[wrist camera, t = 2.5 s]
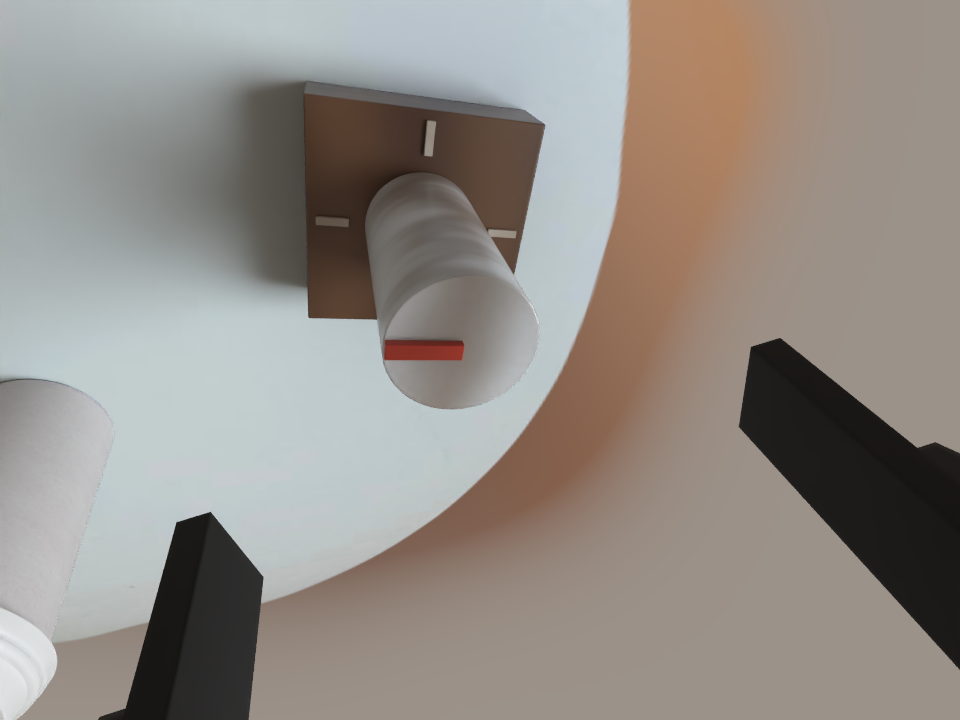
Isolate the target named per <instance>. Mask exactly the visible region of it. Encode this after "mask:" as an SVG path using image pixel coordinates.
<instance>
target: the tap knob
mask: <svg viewBox="0 0 960 720" xmlns="http://www.w3.org/2000/svg"><path fill="white" fill-rule="evenodd" d="M365 233H366V241H367V248H368V255H369V263H370V270H371V277H372V285H373V292H374V299H375V306H376V314H377V321H378V328H379V336H380V343H381V350H382V357H383V363H384V366H385V369H386V372H387V374H388V376H389V378H390V379H391V381H392V382H393V383H394V385H395V386H396V387H397V388H398V389H399V390H400V391H401V392H402V393H403V394H405V395H406V396H407V397H409V398H410V399H412V400H414V401H416V402H418V403H421V404H423V405H426V406H430V407H434V408H440V409H463V408H469V407H473V406H477V405H481V404H483V403H486V402H488V401H491V400H493V399H495V398H497V397H499V396H500V395H502V394H503V393H505V392H507V391H508V390H509V389H510V388H512V387H513V386H514V385H515V384H516V383H517V382H518V381H519V380H520V379H521V378H522V377H523V376H524V374H525V373H526V372H527V370H528V369H529V367H530V366H531V364H532V362H533V360H534V358H535V355H536V352H537V349H538V344H539V335H540V329H539V322H538V318H537V315H536V312H535V310H534V308H533V306H532V304H531V303H530V301H529V299H528V298H527V296H526V294H525V293H524V291H523V289H522V288H521V286H520V284H519V283H518V281H517V280H516V278H515V276H514V275H513V273H512V271H511V270H510V268H509V266H508V265H507V263H506V261H505V260H504V258H503V256H502V255H501V253H500V251H499V250H498V248H497V247H496V245H495V243H494V242H493V240H492V238H491V237H490V235H489V233H488V232H487V230H486V228H485V227H484V225H483V223H482V222H481V220H480V218H479V217H478V215H477V214H476V212H475V210H474V209H473V207H472V205H471V204H470V202H469V200H468V199H467V197H466V196H465V194H464V193H463V192H462V190H461V189H460V188H459V187H458V186H456V185H455V184H454V183H453V182H451V181H450V180H448V179H446V178H444V177H442V176H439V175H436V174H432V173H423V172H417V173H410V174H406V175H402V176H400V177H397V178H395V179H393V180H392V181H390V182H388V183H387V184H386V185H384V186H383V187H382V188H381V189H380V190H379V191H378V192H377V194H376V195H375V196H374V198H373V200H372V201H371V203H370V205H369V208H368V210H367V214H366V220H365Z"/></svg>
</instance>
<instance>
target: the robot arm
mask: <svg viewBox="0 0 960 720" xmlns="http://www.w3.org/2000/svg"><path fill="white" fill-rule="evenodd" d="M739 427H740V429H741V430H742V431H743V432H744V433H745V434H746V435H747V436H748V437H749V438H750V440H751V441H752V442H753V443H754V444H755V445H756V446H757V447H758V448H759V450H761V452H762V453H763V454H764V455H765V456H766V457H767V458H768V459H769V460H770V462H771V463H772V464H773V465H774V466H775V467H776V468H777V469H778V470H779V472H781V474H782V475H783V476H784V477H785V478H786V479H787V480H788V481H789V483H790V484H791V485H792V486H793V487H794V488H795V489H796V490H797V491H798V492H799V494H800V495H801V496H802V497H803V498H804V499H805V500H806V501H807V502H808V503H809V504H810V506H811V507H812V508H813V509H814V510H815V511H816V512H817V513H818V514H819V515H820V517H821V518H822V519H823V520H824V521H825V522H826V523H827V524H828V525H829V526H830V527H831V529H832V530H833V531H834V532H835V533H836V534H837V535H838V536H839V537H840V538H841V540H842V541H843V542H844V543H845V544H846V545H847V546H848V547H849V548H850V550H851V551H852V552H853V553H854V554H855V555H856V556H857V557H858V558H859V559H860V561H861V562H862V563H863V564H864V565H865V566H866V567H867V568H868V569H869V570H870V572H871V573H872V574H873V575H874V576H875V577H876V578H877V579H878V580H879V581H880V582H881V584H882V585H883V586H884V587H885V588H886V589H887V590H888V591H889V592H890V593H891V594H892V596H893V597H894V598H895V599H896V600H897V601H898V602H899V603H900V604H901V605H902V607H903V608H904V609H905V610H906V611H907V612H908V613H909V614H910V615H911V617H912V618H913V619H914V620H915V621H916V622H917V623H918V624H919V625H920V626H921V627H922V629H923V630H924V631H925V632H926V633H927V634H928V635H929V636H930V637H931V639H932V640H933V641H934V642H935V643H936V644H937V645H938V646H939V647H940V648H941V649H942V651H943V652H944V653H945V654H946V655H947V656H948V657H949V658H950V659H951V660H952V662H953V663H954V664H955V665H956V666H957V667H958V668H959V669H960V453H958V452H955V451H953V450H951V449H949V448H947V447H944V446H942V445H940V444H938V443H936V442H935V443H932V444H929V445H926V446H923V447H919V448H917V447H915V446H914V445H913V444H912V443H910V442H909V441H908V440H907V439H905V438H904V437H903V436H902V435H900V434H899V433H898V432H897V431H895V430H894V429H893V428H892V427H890V426H889V425H888V424H887V423H885V422H884V421H883V420H881V419H880V418H879V417H878V416H877V415H875V414H874V413H873V412H872V411H871V410H869V409H868V408H867V407H866V406H864V405H863V404H862V403H860V402H859V401H858V400H857V399H855V398H854V397H853V396H852V395H850V394H849V393H848V392H847V391H846V390H844V389H843V388H842V387H841V386H839V385H838V384H837V383H836V382H834V381H833V380H832V379H831V378H829V377H828V376H827V375H826V374H824V373H823V372H822V371H821V370H819V369H818V368H817V367H816V366H814V365H813V364H812V363H811V362H809V361H808V360H807V359H806V358H804V357H803V356H802V355H801V354H800V353H798V352H797V351H796V350H794V349H793V348H792V347H791V346H790V345H788V344H787V343H786V342H784V341H783V340H782V339H781V338H779V339H775V340H772V341H769V342H766V343H762V344H759V345H756V346H753V347H751V350H750V358H749V364H748V370H747V377H746V383H745V390H744V396H743V403H742V410H741V417H740V423H739ZM262 586H263V576H262V575H261V574H260V572H259V571H258V570H257V569H256V567H255V566H254V565H253V564H252V562H251V561H250V560H249V559H248V557H247V556H246V555H245V554H244V553H243V551H242V550H241V549H240V548H239V546H238V545H237V544H236V543H235V541H234V540H233V539H232V538H231V536H230V535H229V534H228V533H227V532H226V530H225V529H224V528H223V527H222V525H221V524H220V523H219V522H218V520H217V519H216V518H215V517H214V516H213V514H212V513H211V512H209V513H206V514H202V515H199V516H196V517H193V518H189V519H186V520H183V521H180V522H177V523H176V526H175V530H174V534H173V537H172V541H171V545H170V548H169V552H168V556H167V559H166V563H165V567H164V570H163V574H162V578H161V581H160V585H159V588H158V592H157V596H156V599H155V603H154V607H153V610H152V614H151V618H150V621H149V625H148V629H147V632H146V636H145V640H144V644H143V647H142V651H141V654H140V658H139V662H138V665H137V669H136V672H135V676H134V680H133V684H132V687H131V691H130V694H129V698H128V702H127V705H126V709H123V710H120V711H117V712H114V713H111V714H107V715H104V716H101V717H100V718H99V719H98V720H248V719H249V710H250V700H251V691H252V681H253V672H254V662H255V653H256V643H257V634H258V624H259V615H260V614H259V613H260V605H261V596H262Z"/></svg>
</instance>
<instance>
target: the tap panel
mask: <svg viewBox="0 0 960 720" xmlns="http://www.w3.org/2000/svg"><path fill="white" fill-rule="evenodd" d="M544 129H545V124H543V123H542V122H541V121H539V120H538V119H536V118H535V117H534V116H532V115H531V114H529V113H528V112H527V111H525V110H517V109H510V108H503V107H495V106H488V105H480V104H473V103H466V102H458V101H451V100H444V99H436V98H429V97H421V96H414V95H407V94H399V93H392V92H385V91H377V90H370V89H363V88H355V87H348V86H340V85H333V84H326V83H318V82H311V81H307V82H306V85H305V90H304V142H305V189H306V235H307V282H308V317H309V318H332V319H377V314H376V306H375V299H374V292H373V285H372V277H371V270H370V263H369V255H368V248H367V241H366V233H365V220H366V214H367V210H368V208H369V205H370V203H371V201H372V200H373V198H374V196H375V195H376V194H377V192H378V191H379V190H380V189H381V188H382V187H383V186H384V185H386V184H387V183H388V182H390V181H392V180H393V179H395V178H397V177H400V176H402V175H406V174H410V173H417V172H423V173H432V174H436V175H439V176H442V177H444V178H446V179H448V180H450V181H451V182H453V183H454V184H455V185H456V186H458V187H459V188H460V189H461V190H462V192H463V193H464V194H465V196H466V197H467V199H468V200H469V202H470V204H471V205H472V207H473V209H474V210H475V212H476V214H477V215H478V217H479V218H480V220H481V222H482V223H483V225H484V227H485V228H486V230H487V232H488V233H489V235H490V237H491V238H492V240H493V242H494V243H495V245H496V247H497V248H498V250H499V251H500V253H501V255H502V256H503V258H504V260H505V261H506V263H507V265H508V266H509V268H510V270H511V271H512V273H513V275H514V272H515V267H516V263H517V258H518V253H519V248H520V243H521V239H522V234H523V229H524V224H525V220H526V215H527V210H528V205H529V201H530V196H531V191H532V186H533V182H534V177H535V172H536V167H537V163H538V158H539V153H540V148H541V144H542V139H543V134H544Z"/></svg>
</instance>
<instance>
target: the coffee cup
mask: <svg viewBox="0 0 960 720" xmlns="http://www.w3.org/2000/svg"><path fill="white" fill-rule="evenodd" d="M113 440H114V426H113V423H112V420H111V418H110V416H109V415H108V413H107V412H106V411H105V409H104V408H103V407H102V406H101V405H100V404H99V403H97V402H96V401H95V400H94V399H92V398H91V397H89V396H88V395H86V394H84V393H82V392H80V391H78V390H76V389H74V388H71V387H69V386H66V385H63V384H59V383H55V382H50V381H44V380H31V379H27V380H14V381H8V382H4V383H1V384H0V720H16V719H17V718H19V717H20V716H21V715H22V714H24V713H25V712H26V710H28V709H29V708H30V706H31V705H32V704H33V703H34V702H35V701H36V700H37V698H38V697H39V696H40V695H41V694H42V692H43V691H44V689H45V687H46V686H47V685H48V683H49V682H50V681H51V679H52V677H53V676H54V673H55V671H56V667H57V655H56V652H55V649H54V647H53V645H52V643H51V640H52V637H53V633H54V630H55V627H56V623H57V620H58V617H59V613H60V610H61V607H62V603H63V600H64V597H65V594H66V590H67V587H68V584H69V581H70V577H71V574H72V571H73V568H74V564H75V561H76V558H77V555H78V552H79V548H80V545H81V542H82V539H83V536H84V532H85V529H86V526H87V523H88V520H89V516H90V513H91V510H92V507H93V504H94V500H95V497H96V494H97V491H98V488H99V485H100V481H101V478H102V475H103V472H104V469H105V466H106V462H107V459H108V456H109V453H110V450H111V446H112V443H113Z"/></svg>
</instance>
